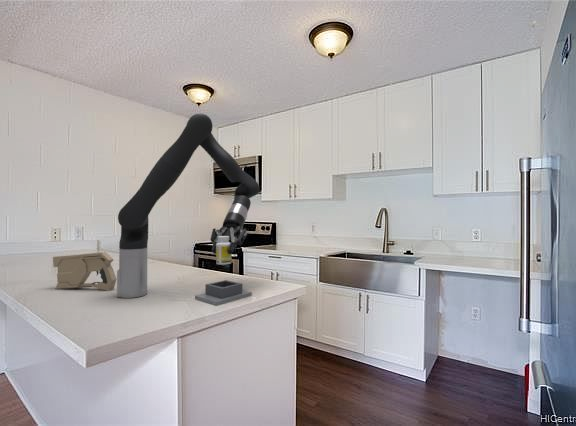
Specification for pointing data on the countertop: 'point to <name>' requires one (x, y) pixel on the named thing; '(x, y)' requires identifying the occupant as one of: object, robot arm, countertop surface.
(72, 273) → the gun
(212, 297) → the gray socket holder
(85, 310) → the countertop surface
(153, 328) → the countertop surface
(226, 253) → the supplement bottle
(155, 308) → the countertop surface
